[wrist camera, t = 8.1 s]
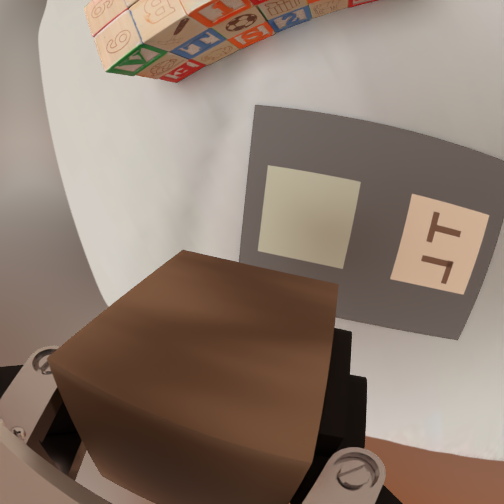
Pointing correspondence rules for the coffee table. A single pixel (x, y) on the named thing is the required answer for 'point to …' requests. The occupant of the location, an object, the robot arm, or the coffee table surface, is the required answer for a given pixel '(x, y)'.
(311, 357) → the walnut block
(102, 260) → the coffee table surface
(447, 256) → the mat
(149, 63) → the stack of blocks
